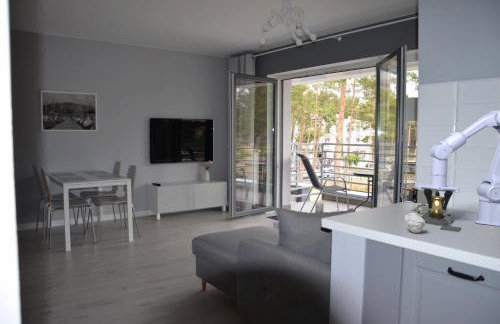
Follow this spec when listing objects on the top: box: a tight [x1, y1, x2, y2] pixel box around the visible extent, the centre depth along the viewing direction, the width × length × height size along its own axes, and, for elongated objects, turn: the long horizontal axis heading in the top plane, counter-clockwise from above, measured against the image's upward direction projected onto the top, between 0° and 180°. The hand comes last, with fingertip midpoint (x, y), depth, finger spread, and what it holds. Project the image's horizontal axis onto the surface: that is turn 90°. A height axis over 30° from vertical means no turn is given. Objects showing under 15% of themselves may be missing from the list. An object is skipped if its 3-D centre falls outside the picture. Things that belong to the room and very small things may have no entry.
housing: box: [420, 211, 455, 227], centre depth 155 cm, size 14×10×2 cm
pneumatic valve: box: [408, 187, 441, 215], centre depth 171 cm, size 6×12×12 cm, turn 89°
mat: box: [439, 225, 462, 233], centre depth 143 cm, size 6×6×1 cm
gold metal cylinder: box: [430, 195, 445, 217], centre depth 155 cm, size 5×5×8 cm
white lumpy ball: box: [404, 212, 426, 234], centre depth 137 cm, size 6×7×7 cm
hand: (437, 209), depth 155 cm, fingers closed on gold metal cylinder, 5 cm apart
